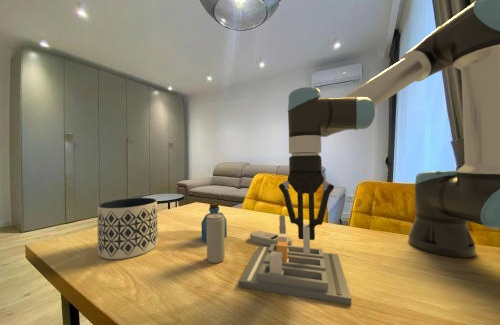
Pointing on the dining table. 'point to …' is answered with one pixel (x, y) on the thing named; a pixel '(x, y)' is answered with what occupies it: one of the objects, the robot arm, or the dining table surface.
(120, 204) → the planter
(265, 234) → the electronic device
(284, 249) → the block
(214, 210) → the perfume bottle
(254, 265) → the panel
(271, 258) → the block
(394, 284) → the dining table surface
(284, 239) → the breaker far
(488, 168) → the robot arm
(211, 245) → the beverage can
